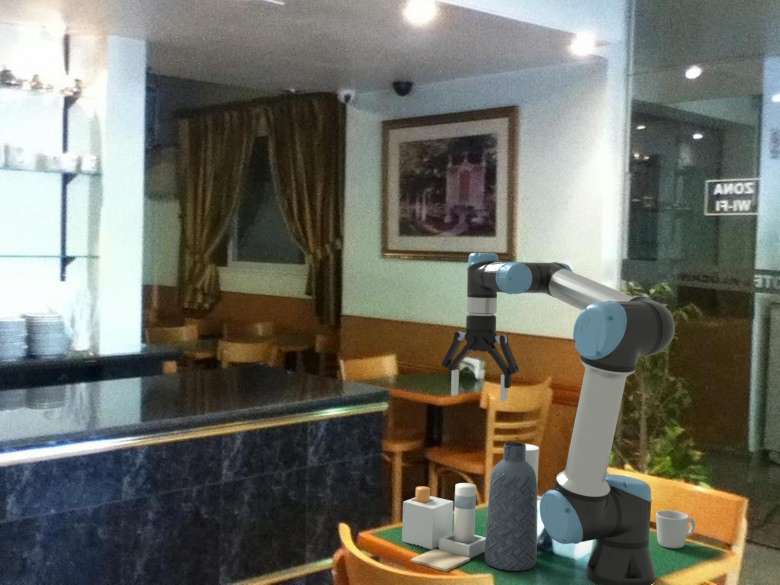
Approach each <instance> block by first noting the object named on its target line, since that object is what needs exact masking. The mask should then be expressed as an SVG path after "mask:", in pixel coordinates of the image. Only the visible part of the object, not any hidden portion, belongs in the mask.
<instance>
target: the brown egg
mask: <svg viewBox="0 0 780 585" xmlns="http://www.w3.org/2000/svg"><path fill="white" fill-rule="evenodd" d="M430 496H431V488H430V487H428V486H423V485H422V486H416V487H415V497H414V498H415V501H416V502H420V503H424V504H425V503H428V502H430Z"/></svg>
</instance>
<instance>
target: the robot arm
mask: <svg viewBox="0 0 780 585" xmlns="http://www.w3.org/2000/svg"><path fill="white" fill-rule="evenodd" d="M467 261H468V262H467V269H466V271H467V273H466V274H467V280H466V282H467V284H466V286H467V287H466V288H467V289H466V290H467V291H466V294H467V295H466V309H465V310H466V312H467V313H468V314H467V315H466V320H465V329H466V330H465V332H462V331H460V330H459V331H455V332H454V334H453V340H452V342H451V344H450V346H449V349H448V350H447V353H446V354H445V357H444V359H443V360H442V363H441V366H442V367H443V368H446V369H448V377H447V380H448V383H451V385H450V396H451V397H455V396H459V384H460V383H459V381H460V380H459V376H460V369H457V367H458V366H459V365H460V364H461V363H462V362H463V361H464V359H466V357H467V356H468V355H469V353H470V352H472V351H473V352H481V353H482V352H484V353H485V352H486V353H488V354H489V355H490V356H491V357H492V359H493V361H494V363H496V365H497V366H498V367H499V368H500V370H501V371H502V373H503V374H501V375H500V391H499V392H500V394H499V395H500V396H499V399H500V400H499V402H506V401H508V392H509V390H508V389H510V388H511V387H512V375H513V374H514V375H515V374H517V373H519V372H520V369H519V368H520V367H519V365H518V363H517V362H516V359H515V356H514V354H513V352H512V350H511V347H510V344H509V337H508V335H507V334H500V335H497V333H496V331H497V316H496V315H495V314H496V313H497V311H498V310H497V307H498V306H497V305H498V304H497V300H498V293H504V294H508V295H518V294H519V295H520V294H545V295H548V296H550V297H552V298H554V299H557V300H560V301H561V302H563V303H566V304H568V305H570V306H572V307H574V308H577V309H578V310H580V312H579V314H578V316H577V317H576V319H575V320H574V321H575V322H574V325H573V330H572V338H573V339H572V340H573V341H575V343H574V347H575V349H576V351H577V352H578V353H579V354H580V355H579V361H580V362H581V364H582V365H583V366H584V374H583V379H582V383H581V384H582V385H581V389H580V394H579V399H578V404H577V409H576V413H575V414H576V415H575V420H574V425H573V429H572V434H571V439H570V444H569V450H568V455H567V461H566V465H565V469H564V470H563V471H561V472H559V473H557V475H556V478H555V482H554V489H549V490H547V491H546V492H545V493H543V495H542V496H541V498H540V500H539V514H540V519H541V522H542V524H543V526H544V529H545V531H546V532H547V534H548V535H549V536H550V538H552V540H554V541H556V542H557V543H559V544H562V545H568V544H570V545H571V544H574V545H577V544H580V543H585V542H589V541H590V542H591V541H593V540H594V541H595V543H594V546H593V549H592V550H591V553H590V556H589V559H588V562H587V564H586V577H587V578H588V579H589V580H590V581H591V582H593V583H595V584H598V585H651V584H653V583H654V582H655V583H656V570H655V567H654V562H653V559H652V555H651V553H650V552H651V551H650V529H651V514H652V503H653V500H652V490H651V489H652V488H651V486H650V485H649V484H648V483H647V482H646V481H644V480H642V479H639V478H636V477H631V476H627V475H621V474H614V473H607V471H608V466H609V462H610V458H611V457H610V456H611V452H612V447H613V442H614V437H615V433H616V428H617V423H618V418H619V414H620V408H621V405H622V399H623V394H624V391H625V390H624V389H625V386H626V381H627V377H629V376H630V375H633V374H634V373H635V372H636V370H637V364H638V360H639V357H646V356H647V357H649V356H653V355H657V354H659V353H661V352H663V351H664V350H665V349H666V348H667V347H669V345H670V343H671V342H672V341H673V339H674V336H675V335H674V334H675V331H676V325H675V321H674V320H675V319H674V317H673V314H672V313H671V311H670V310H669V309H668V308H667V307H666V306H665V305H663V304H662V303H661V302H658V301H655V300H652V299H651V298H648V297H646V296H642V295H635V296H632V295H628V294H626V293H624V292H621V291H619V290H617V289H614V288H612V287H610V286H608V285H607V286H606V285H604V284H603V283H600V282H597V281H595V280H593V279H590V278H588V277H585V276H583V275H580V274H578V273H576V272H573V269H571V267H570V265H568V264H566V263H562V262H561V263H560V262H557V261H556V262H555V261H553V262H552V261H551V262H525V261H524V262H523V261H499V255H498V254H497V253H488V252H471V253H470V254H469V256H468V260H467ZM464 340H465V341H466V344H465V345H464V347H463V348H462V349H461V351H460V352H459V353H458V354H457V355H456V353H457V351H458V349H459V347H460V346H461V344H462V341H464ZM496 342H498V343H497V344H498V345H499V346H500V349H501V351H502V354H503V356H504V358H503V356H502V355H501V353H500V352H499V350H498V348H497V346H496V344H495V343H496ZM455 355H456V356H455ZM505 360H506V361H505Z"/></svg>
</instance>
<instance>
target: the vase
mask: <svg viewBox="0 0 780 585" xmlns="http://www.w3.org/2000/svg"><path fill="white" fill-rule="evenodd" d="M525 444H526V443H523V442H517V441H515V442H514V441H510V442H509V441H508V442H504V443H503V452H502V453H503V454H502V456H503V457H502V459H501V460H500V461H498V462H497V463H496V464H495V466H494V467H493V468H492V472H491V474H490V478H489V490H488V500H487V511H486V512H487V515H486V516H487V517H486V526H485V527H486V529H485V537H486V539H485V552H484V561H485V563H486V564H487V565H488V566H490V567H491V568H494V569H497V570H502V571H509V572H510V571H511V572H522V571H528V570H531V569H533V568H535V566H536V564H537V555H538V546H537V545H538V483H537V479H536V474H535V471H534V469H533V468H532V466H531V465H530V464H529V463H528V462H527V461H526V460H525V458H526V445H525Z"/></svg>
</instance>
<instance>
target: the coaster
mask: <svg viewBox="0 0 780 585" xmlns="http://www.w3.org/2000/svg"><path fill="white" fill-rule="evenodd" d="M470 561H471V558H468V557H464V556H460V555H457V554H453V553H449V552H446V551H442V550H439V548H434V549H430V550H429V551H426V552H424V553H422V554H420V555H417V556H415V557H412V558H410V562H411V563H414V564H418V565H422V566H424V567H428V568H431V569H436V570H439V571H443V572H446V573H448V572H449V571H451V570H453V569H456V568H458V567H460V566H461V565H464V564H466V563H468V562H470ZM452 568H453V569H452ZM450 569H451V570H450Z"/></svg>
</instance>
